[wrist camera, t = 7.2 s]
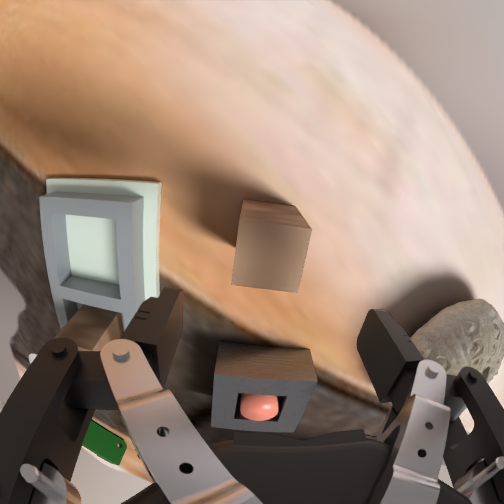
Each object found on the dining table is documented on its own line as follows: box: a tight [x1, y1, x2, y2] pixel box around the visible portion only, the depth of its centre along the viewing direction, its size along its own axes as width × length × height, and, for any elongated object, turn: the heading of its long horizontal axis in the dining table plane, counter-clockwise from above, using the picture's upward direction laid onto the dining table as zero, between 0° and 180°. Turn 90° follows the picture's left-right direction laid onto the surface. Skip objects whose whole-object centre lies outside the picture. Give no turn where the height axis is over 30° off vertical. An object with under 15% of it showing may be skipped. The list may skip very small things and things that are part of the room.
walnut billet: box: [231, 199, 312, 293], centre depth 21 cm, size 4×4×7 cm
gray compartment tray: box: [39, 178, 162, 331], centre depth 25 cm, size 13×22×4 cm, turn 172°
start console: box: [211, 341, 317, 432], centre depth 28 cm, size 10×10×5 cm
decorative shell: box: [391, 299, 504, 403], centre depth 25 cm, size 18×18×10 cm
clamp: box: [82, 421, 127, 465], centre depth 36 cm, size 12×6×9 cm, turn 41°
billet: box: [54, 304, 124, 351], centre depth 24 cm, size 4×4×7 cm
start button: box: [240, 393, 278, 421], centre depth 27 cm, size 4×4×4 cm
